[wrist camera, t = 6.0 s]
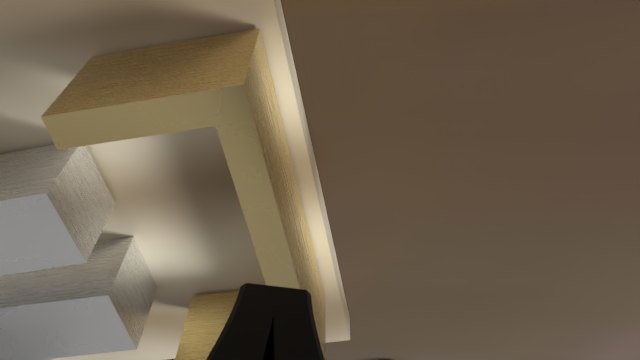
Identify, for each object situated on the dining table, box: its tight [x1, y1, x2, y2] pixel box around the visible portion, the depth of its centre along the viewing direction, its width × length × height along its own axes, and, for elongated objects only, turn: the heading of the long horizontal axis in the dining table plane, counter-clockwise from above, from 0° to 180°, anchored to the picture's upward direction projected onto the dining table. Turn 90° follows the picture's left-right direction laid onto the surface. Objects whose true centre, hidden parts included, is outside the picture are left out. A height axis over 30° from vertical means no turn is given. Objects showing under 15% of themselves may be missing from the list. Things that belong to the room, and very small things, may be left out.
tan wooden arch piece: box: [41, 28, 326, 360], centre depth 18 cm, size 10×5×4 cm, turn 10°
